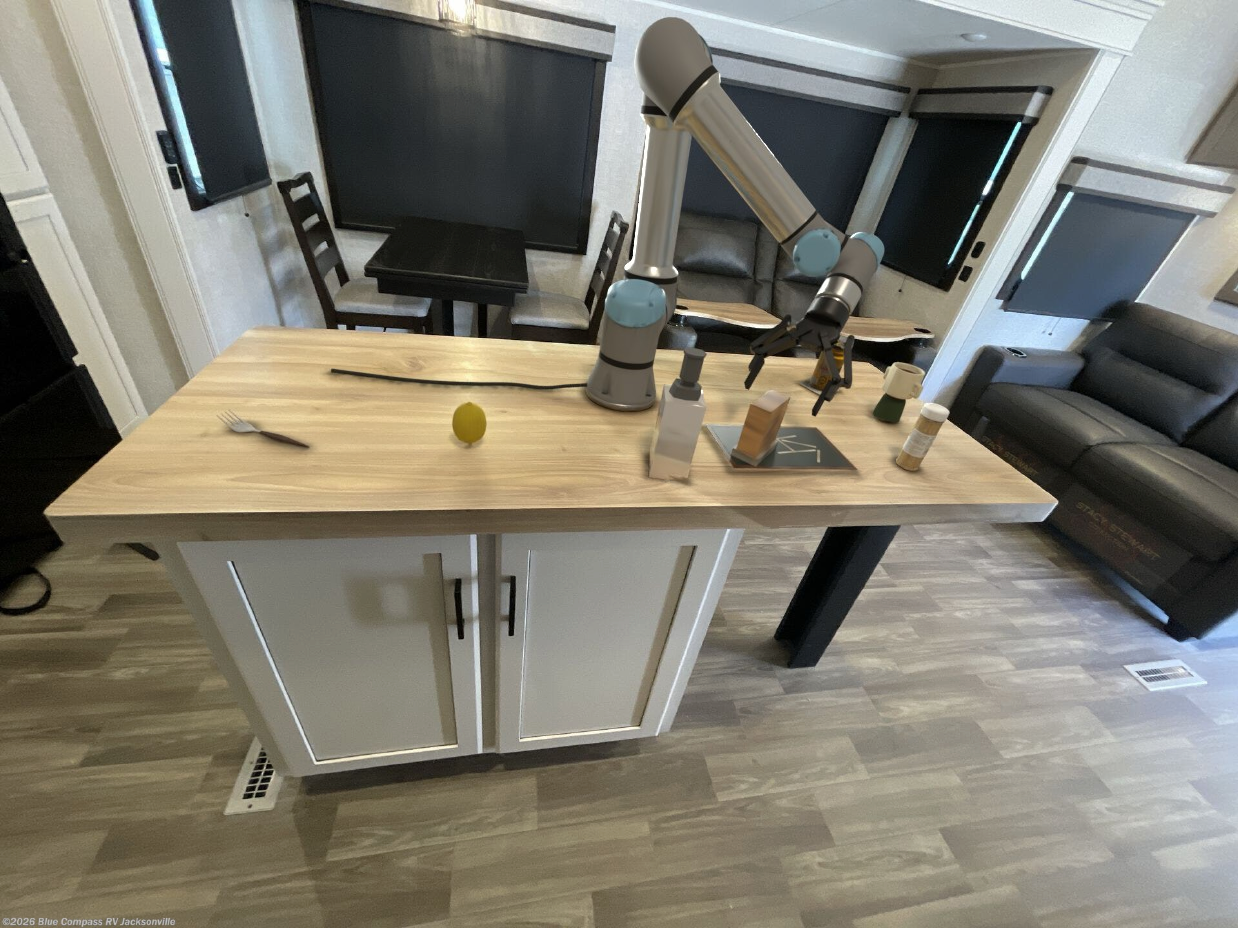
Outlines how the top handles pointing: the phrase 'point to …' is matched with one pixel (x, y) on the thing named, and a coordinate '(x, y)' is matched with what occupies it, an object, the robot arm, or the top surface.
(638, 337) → the robot arm
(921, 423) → the sprinkles bottle
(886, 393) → the cream and green goblet
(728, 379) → the top surface
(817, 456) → the chalkboard
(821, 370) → the condiment
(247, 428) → the fork
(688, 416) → the soap dispenser
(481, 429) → the lemon
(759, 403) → the eraser
